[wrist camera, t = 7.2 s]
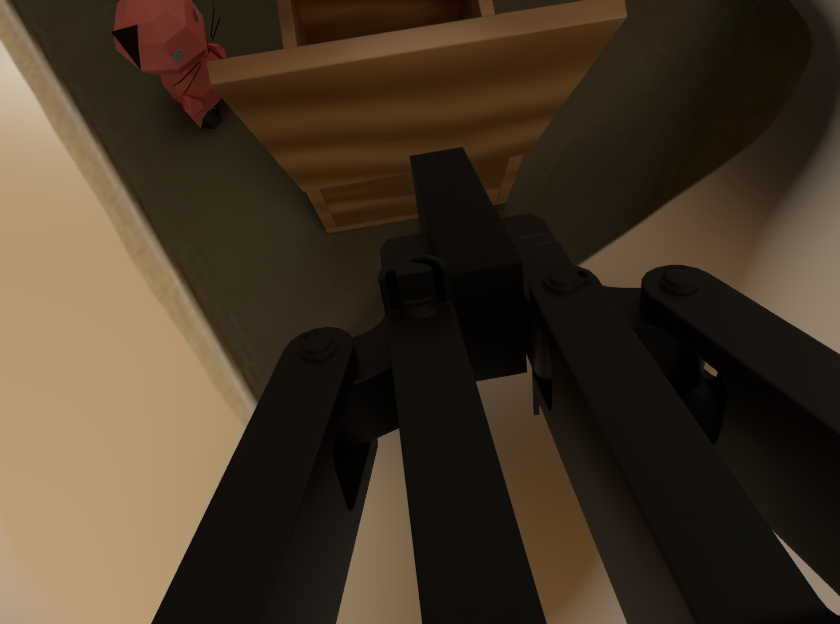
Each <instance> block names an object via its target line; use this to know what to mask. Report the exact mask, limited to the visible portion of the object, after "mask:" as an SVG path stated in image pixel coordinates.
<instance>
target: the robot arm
mask: <svg viewBox="0 0 840 624" xmlns="http://www.w3.org/2000/svg"><path fill="white" fill-rule="evenodd" d="M410 162H411V169H412V176H413V182H414V189H415V196H416V203H417V209H418V216H419V223H420V230H421V234H416V235H410V236H404V237H398V238H393V239H387V241H386V242H385V244H384V245H383V247H382V249H381V250H380V255H381V263H382V269H381V270H380V273H379V277H378V279H379V284H380V289H381V294H382V299H383V304H384V309H385V316H384V318H383V320H382V321H381V322H380V323H379V324H378V325H377V326H375V327H374V328H373V329H371V330H369V331H367V332H365V333H363V334H361V335H359V336H356V337H354V338H352V337H351V336H350V334H349V333H348V332H346V331H344V330H342V329H340V328H332V327H324V328H317V329H313V330H310V331H307V332H305V333H302V334H300V335H299V336H297V337H296V338H294V339H293V340H292V341H290V343H289V344H288V345H287V347H286V348H285V349H284V351H283V353H282V355H281V357H280V359H279V361H278V363H277V365H276V367H275V370H274V372H273V374H272V376H271V378H270V380H269V382H268V384H267V386H266V388H265V390H264V392H263V394H262V396H261V398H260V400H259V403H258V405H257V407H256V409H255V411H254V413H253V415H252V417H251V419H250V421H249V423H248V425H247V427H246V429H245V431H244V433H243V435H242V438H241V440H240V442H239V444H238V446H237V448H236V450H235V452H234V454H233V456H232V458H231V460H230V462H229V465H228V466H227V469H226V471H225V473H224V475H223V477H222V479H221V481H220V483H219V485H218V487H217V489H216V491H215V493H214V496H213V497H212V499H211V501H210V504H209V506H208V508H207V510H206V512H205V514H204V516H203V518H202V520H201V522H200V524H199V526H198V528H197V531H196V532H195V535H194V537H193V539H192V541H191V543H190V545H189V547H188V549H187V551H186V553H185V555H184V557H183V559H182V561H181V564H180V565H179V567H178V570H177V572H176V574H175V576H174V578H173V580H172V582H171V584H170V586H169V588H168V590H167V592H166V594H165V596H164V598H163V600H162V602H161V605H160V607H159V609H158V611H157V613H156V615H155V617H154V619H153V621H152V623H151V624H336V621H337V616H338V612H339V608H340V604H341V599H342V595H343V591H344V587H345V583H346V579H347V574H348V570H349V566H350V561H351V557H352V553H353V549H354V544H355V540H356V536H357V532H358V528H359V523H360V519H361V515H362V511H363V507H364V502H365V498H366V494H367V490H368V485H369V481H370V477H371V473H372V468H373V464H374V460H375V456H376V451H377V447H378V440H377V438H379V437H380V436H383V435H385V434H387V433H389V432H392V431H394V430H396V429H398V428H399V431H400V439H401V448H402V457H403V464H404V473H405V482H406V490H407V499H408V507H409V515H410V523H411V532H412V540H413V549H414V558H415V566H416V574H417V583H418V591H419V600H420V608H421V617H422V624H546V620H545V617H544V613H543V610H542V607H541V603H540V600H539V596H538V593H537V590H536V586H535V583H534V579H533V576H532V572H531V569H530V565H529V562H528V559H527V556H526V552H525V549H524V545H523V542H522V538H521V535H520V531H519V528H518V524H517V521H516V518H515V514H514V511H513V507H512V504H511V500H510V497H509V494H508V490H507V487H506V483H505V480H504V477H503V473H502V470H501V467H500V463H499V459H498V456H497V453H496V449H495V446H494V442H493V439H492V436H491V432H490V429H489V425H488V422H487V418H486V415H485V412H484V409H483V405H482V401H481V399H480V395H479V391H478V388H477V384H476V381H481V380H487V379H492V378H498V377H504V376H510V375H515V374H521V373H526V372H527V362H526V354H527V357H528V359H529V361H530V364H531V366H532V380H533V408H534V415H539V406H541V409H542V411H543V414H544V416H545V419H546V421H547V424H548V426H549V429H550V431H551V434H552V436H553V439H554V441H555V444H556V447H557V449H558V451H559V454H560V456H561V459H562V462H563V464H564V466H565V469H566V472H567V474H568V476H569V479H570V481H571V484H572V487H573V489H574V492H575V494H576V497H577V499H578V501H579V504H580V507H581V509H582V511H583V514H584V517H585V519H586V522H587V524H588V526H589V529H590V532H591V534H592V537H593V539H594V542H595V544H596V547H597V549H598V551H599V554H600V557H601V559H602V561H603V564H604V567H605V569H606V572H607V574H608V577H609V579H610V582H611V584H612V587H613V589H614V591H615V594H616V597H617V599H618V602H619V604H620V607H621V609H622V612H623V614H624V617H625V619H626V622H627V624H840V616H838V615H836V614H835V613H833V612H832V611H831V610H829V609H828V608H827V607H826V606H825V604H824V603H823V602H822V601H821V600H820V599H819V597H818V596H817V594H816V593H815V591H814V590H813V589H812V587H811V586H810V584H809V583H808V581H807V580H806V579H805V577H804V576H803V574H802V573H801V571H800V570H799V568H798V567H797V566H796V564H795V563H794V561H793V560H792V558H791V557H790V555H789V554H788V552H787V551H786V550H785V548H784V547H783V545H782V544H781V542H780V541H779V540H778V538H777V537H776V535H775V534H774V532H775V533H776V534H777V535H778V536H779V537H780V538H781V539H782V540H783V541H784V542H785V543H786V544H787V545H788V546H789V547H790V548H791V549H792V550H793V551H794V552H795V553H796V554H797V555H798V556H799V557H800V558H801V559H802V560H803V561H804V562H806V563H807V564H808V566H809V567H811V568H812V569H813V570H814V571H815V572H816V573H817V574H818V575H819V576H820V577H821V578H822V579H823V580H824V581H825V582H826V583H827V584H828V585H829V586H830V587H831V588H832V589H833V590H834V591H835V592H836V593H837V594H838V595H839V596H840V354H838V353H837V352H835V351H833V350H832V349H830V348H829V347H827V346H825V345H824V344H822V343H821V342H819V341H817V340H816V339H814V338H812V337H811V336H809V335H808V334H806V333H804V332H803V331H801V330H800V329H798V328H796V327H795V326H793V325H791V324H790V323H788V322H786V321H785V320H783V319H782V318H780V317H778V316H777V315H775V314H774V313H772V312H771V311H769V310H767V309H766V308H764V307H762V306H761V305H759V304H758V303H756V302H754V301H753V300H751V299H750V298H748V297H746V296H745V295H743V294H741V293H740V292H738V291H737V290H735V289H733V288H732V287H730V286H729V285H727V284H725V283H724V282H722V281H720V280H719V279H717V278H715V277H714V276H712V275H711V274H709V273H707V272H705V271H702V270H700V269H698V268H694V267H689V266H684V265H667V266H663V267H658V268H655V269H653V270H651V271H649V272H647V273H646V274H645V276H644V277H643V278H642V283H641V288H617V287H606V286H603V285H602V284H601V283H600V281H599V280H598V278H597V277H596V276H595V275H594V274H593V273H592V272H590V271H589V270H587V269H584V268H581V267H579V266H573V264H572V263H571V261H570V260H569V258H568V257H567V255H566V254H565V252H564V250H563V249H562V247H561V246H560V244H559V243H558V242H557V240H556V238H555V237H554V235H553V234H551V231H550V229H549V228H548V226H547V225H546V223H545V221H543V220H541V219H539V218H538V217H536V216H534V215H532V214H530V213H529V214H523V215H517V216H511V217H506V218H499V216H498V214H497V212H496V210H495V208H494V206H493V204H492V202H491V200H490V199H489V197H488V195H487V193H486V191H485V189H484V187H483V185H482V183H481V181H480V179H479V177H478V175H477V173H476V171H475V170H474V168H473V166H472V164H471V162H470V160H469V158H468V156H467V154H466V152H465V150H464V148H463V147H459V148H453V149H447V150H441V151H435V152H429V153H423V154H418V155H412V156H410ZM705 362H706V363H708V364H709V365H710V366H712V367H713V368H714V369H715V370H716V371H717V372H718V373H717V376H716V377H715V376H713V375H711V374H710V373H709V372H707V371H706V370H705V369H704V365H705ZM772 530H773V531H774V532H773V531H772Z"/></svg>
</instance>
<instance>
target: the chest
mask: <svg viewBox="0 0 840 624" xmlns="http://www.w3.org/2000/svg"><path fill="white" fill-rule="evenodd" d="M276 1H277V8H278V15H279V22H280V29H281V36H282V43H283V49H287V48H293V47H299V46H305V45H311V44H318V43H324V42H330V41H336V40H342V39H348V38H354V37H361V36H367V35H373V34H379V33H385V32H391V31H397V30H404V29H410V28H416V27H422V26H428V25H434V24H441V23H447V22H453V21H459V20H465V19H471V18H477V17H484V16H490V15H495V12H494V7H493V3H492V0H276ZM522 158H523V155H519V156H513V157H507V158H502V159H496V160H490V161H484V162H478V163H472V166H473V168H474V170H475V171H476V173H477V175H478V177H479V179H480V181H481V183H482V185H483V187H484V189H485V191H486V193H487V195H488V197H489V199H490V200H491V202H492V204H493V205H499V204H505V203H507V200H508V197H509V194H510V191H511V188H512V186H513V183H514V180H515V177H516V174H517V172H518V169H519V166H520V163H521V160H522ZM305 192H306V194H307V195H308V197H309V199H310V201H311V203H312V205H313V207H314V209H315V210H316V212H317V214H318V216H319V218H320V220H321V222H322V224H323V226H324V227H325V230H326V231H327V233H333V232H339V231H345V230H351V229H356V228H362V227H368V226H374V225H380V224H386V223H392V222H398V221H404V220H410V219H416V218H419V216H418V209H417V203H416V196H415V189H414V182H413V176H412V174H406V175H400V176H394V177H388V178H382V179H376V180H370V181H364V182H358V183H352V184H346V185H340V186H334V187H328V188H322V189H316V190H310V191H305Z"/></svg>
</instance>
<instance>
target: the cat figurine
mask: <svg viewBox="0 0 840 624" xmlns="http://www.w3.org/2000/svg"><path fill="white" fill-rule="evenodd" d="M213 6H214V3H213ZM214 11H215V8H214V10H213V19H214ZM213 19H212V27H213ZM219 21H220V16H219V20H218V23H217V26H216V29H215V32H214V35H213V38H212V40H213V39H214V36H215V33H216V30H217V27H218V24H219ZM212 27H211V35H210V37H211V36H212ZM112 34H113V35H114V40H115V46H116V50H117V51H118V52H120V53H121V54H122V55H123V56H124V57H126V58H127V59H128V60H129V61H130V62H131V63H133V64H134V65H135V66H136V67H137V68H138V69H140V70H141V71H143V72H147V73H150V74H154V75H160V76H161V81H162V84H163V86H164V87H165V88H166V89H167V91H168V92H169V93H170V94H171V96H172V97H173V98H174V99H175V100H177V101H178V102H180V103H181V104H182V106H183V108H184V110H185V112H186V113H188V115H189V116H190V117H191V118H192V119H193V120H194V121H195V122H196V124H197V125H198V126H199V127H200V128H207V129H215V128H216V127H217V126H218V124H219V123H220V122H221V121H222V120H221V116H220V113H219V110H218V109H217V108H216V107H214V106H215V105H216V104H217V103H218V102H219V100H220V99H221V98H222V97H221V96H220V95H219V94H218V93H217V92H216V91H215V89H214V88H213V87H212V86H211V85H210V80H209V74H208V68H207V62H208V61H213V60H219V59H225V58H226V56H225V49H224V48H223V47H222V46H221V44H213V43H212V41H210V42H208V43H206V37H205V29H204V21H203V16H202V15H201V13H200V12H199V10H198V9H197V7H196V6H195V5H194V3H193V2H192V0H120V1H119V2H118V3H117V8H116V16H115V24H114V31H112Z"/></svg>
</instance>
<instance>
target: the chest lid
mask: <svg viewBox="0 0 840 624" xmlns="http://www.w3.org/2000/svg"><path fill="white" fill-rule="evenodd" d="M626 18H627V12H626V6H625V0H582V1H576V2H570V3H563V4H557V5H551V6H545V7H539V8H533V9H527V10H520V11H514V12H508V13H502V14H496V15H490V16H484V17H477V18H471V19H465V20H459V21H453V22H447V23H441V24H434V25H428V26H422V27H416V28H410V29H404V30H397V31H391V32H385V33H379V34H373V35H367V36H361V37H354V38H348V39H342V40H336V41H330V42H324V43H318V44H311V45H305V46H299V47H293V48H287V49H281V50H275V51H268V52H262V53H256V54H250V55H244V56H238V57H231V58H225V59H219V60H213V61H208V62H207V68H208V74H209V80H210V85H211V86H212V87H213V88H214V89H215V91H216V92H217V93H218V94H219V95H220V96H221V97H222V99H223V100H224V101H225V102H226V103H227V104H228V106H229V107H230V108H231V109H232V110H233V111H234V113H235V114H236V115H237V116H238V117H239V118H240V119H241V121H242V122H243V123H244V124H245V125H246V126H247V128H248V129H249V130H250V131H251V132H252V133H253V134H254V136H255V137H256V138H257V139H258V140H259V141H260V143H261V144H262V145H263V146H264V147H265V148H266V149H267V151H268V152H269V153H270V154H271V155H272V156H273V158H274V159H275V160H276V161H277V162H278V163H279V164H280V166H281V167H282V168H283V169H284V170H285V171H286V173H287V174H288V175H289V176H290V177H291V178H292V179H293V181H294V182H295V183H296V184H297V185H298V186H299V188H300V189H301V190H302V191H303V192H304V191H310V190H316V189H322V188H328V187H334V186H340V185H346V184H352V183H358V182H364V181H370V180H376V179H382V178H388V177H394V176H400V175H406V174H412V169H411V162H410V156H412V155H418V154H423V153H429V152H435V151H441V150H447V149H453V148H459V147H463V148H464V150H465V152H466V154H467V156H468V158H469V160H470V162H471V164H472V163H478V162H484V161H490V160H496V159H502V158H507V157H513V156H519V155H525V154H528V152H529V151H530V150H531V148H532V147H533V145H534V144H535V143H536V141H537V140H538V139H539V137H540V136H541V134H542V133H543V132H544V130H545V129H546V128H547V126H548V125H549V124H550V122H551V121H552V119H553V118H554V117H555V115H556V114H557V113H558V111H559V110H560V108H561V107H562V106H563V104H564V103H565V102H566V100H567V99H568V97H569V96H570V95H571V93H572V92H573V91H574V89H575V88H576V86H577V85H578V84H579V82H580V81H581V80H582V78H583V77H584V75H585V74H586V73H587V71H588V70H589V69H590V67H591V66H592V64H593V63H594V62H595V60H596V59H597V58H598V56H599V55H600V54H601V52H602V51H603V49H604V48H605V47H606V45H607V44H608V43H609V41H610V40H611V38H612V37H613V36H614V34H615V33H616V32H617V30H618V29H619V27H620V26H621V25H622V23H623V22H624V21H625V19H626Z"/></svg>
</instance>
